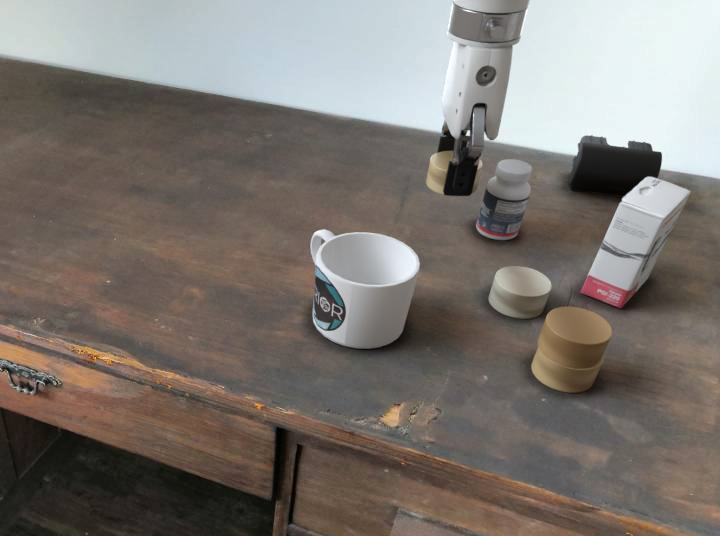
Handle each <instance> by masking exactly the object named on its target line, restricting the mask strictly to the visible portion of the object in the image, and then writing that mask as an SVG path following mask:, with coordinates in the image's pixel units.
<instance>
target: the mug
mask: <svg viewBox="0 0 720 536" xmlns="http://www.w3.org/2000/svg"><path fill="white" fill-rule="evenodd" d="M322 240H323V241H324V242H323V243H322ZM309 245H310V246H309V247H310V254H311V258H312V261H313V263H314V265H315V266H314V267H315V270H314V271H315V273H314V287H313V303H312V323H313V324H314V326H315V328H316V329H317V331H318V332H319V333H320V334H321V335H322V336H323V337H324V338H326V339H328V340H329V341H331V342H333V343H334V344H337V345H340V346H342V347H346V348H352V349H360V350H362V349H364V350H370V349H377V348H382V347H383V346H387V345H390V344H392V343H393V342H394V341H396V340H397V339H399V338H400V336H401V335H402V333H403V332H404V328H405V324H406V320H407V317H408V314H409V310H410V306H411V303H412V299H413V296H414V292H415V288H416V285H417V281H418V277H419V275H420V270H421V263H420V258H419V256H418V254H417V253H416V252H415V250H413V248H412V247H410V246H409V245H407V244H406V243H405V242H403V241H401V240H399V239H397V238H395V237H391V236H389V235H385V234H381V233H375V232H365V231H363V232H362V231H361V232H360V231H355V232H346V233H341V234H338V235H335V234H334V233H333V232H332V231H331V230H327V229H325V228H323V229H319V230H316V231H315V232H314V233H313V235H312V237H311V239H310V244H309Z"/></svg>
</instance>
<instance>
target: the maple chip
mask: <svg viewBox="0 0 720 536" xmlns="http://www.w3.org/2000/svg"><path fill="white" fill-rule="evenodd" d="M453 152H454V151H442V152H438V153H437V152H435V153H434V154H432V155H431V157H430V159H429V163H428V168H427V175H426V179H425V184H426V186H427V188H428V189H430V190H431V191H432V192H435V193H437V194H440V195H443V196H445V195H444V192H443V189H444V184H445V179H446V174H447V169H448V165H449V161H452V160H453ZM482 170H483V162H482V160H481V159H480V161H479V165H478V169H477V173H476V177H475V182H474V186H473V190H472V194H474V193H475V192H476V191H477V190H478V186H479V183H480V178H481V174H482Z"/></svg>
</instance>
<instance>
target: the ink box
mask: <svg viewBox="0 0 720 536" xmlns="http://www.w3.org/2000/svg"><path fill="white" fill-rule="evenodd" d="M691 192H692V190H691V189H687V188H685V187H682V186H680V185H678V184H675V183H673V182H670V181H667V180H665V179H661V178H659V177H658V178H655V177H646V178H644V180H642V181H641V182H640V183H639V184H638V185H637V186H635V187H634V188H633V189H632V190H631V191H630V192H629V193H627V194H626V195H625V196H624V197H621V201H620V202H619V203H618V206H617V208H616V210H615V213H614V216H613V217H612V219H611V221H610V224H609V226H608V229H607V231H606V233H605V236H604V237H603V240H602V241H601V245H600V247H599V249H598V251H597V254H596V256H595V258H594V260H593V263H592V265H591V267H590V269H589V271H588V274H587V276H586V278H585V281H584V283H583V285H582V287H581V290H580V294H582V295H585V296H588V297H591V298H593V299H596V300H598V301H601V302H603V303H606V304H608V305H610V306H614V307H616V308H618V309H622V308H623V307H625V305H626V304H627V302H629V300H630V299H631V298H632V297H633V296H634V295H635V294H636V293H637V292H638V290H639V289H641V287H642V285H644V284H645V283H646V281H647V280H648V279H649V277H650V276H651V273H652V271H653V269H654V267H655V265H656V263H657V261H658V259H659V257H660V255H661V252H662V251H663V248H664V247H665V244H666V243H667V241H668V238H669V236H670V235H671V233H672V230H673V228H674V227H675V224H676V222H677V220H678V218H679V217H680V215H681V213H682V210H683V208H684V206H685V204H686V203H687V200H688V199H689V196H690V194H691Z"/></svg>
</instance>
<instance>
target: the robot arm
mask: <svg viewBox="0 0 720 536" xmlns="http://www.w3.org/2000/svg"><path fill="white" fill-rule="evenodd" d="M529 5H530V0H452V4H451V8H450V9H451V10H450V14H449V20H448V25H447V30H446V37H447V38H448V39H449V40H451V41H453V43H452V47H451V53H450V57H449V60H448V61H449V62H448V65H447V71H446V75H445V81H444V86H443V93H442V99H441V100H442V101H441V111H442V114H443V118H444V120H443V123H442V128H441V136H440V137H439V140H438V141H439V142H438V146H437V152H436V153H438V152H442V151H454V152H453V160H452V161H449V165H448V169H447V174H446V179H445V184H444V189H443V192H444V195H443V196H448V197H470V196H471V195H472V194H473V193H472V190H473V186H474V182H475V177H476V173H477V169H478V165H479V161H480V160H481V156H482V153H483V151H484V147H485V136H486V138H487V139H489V141H495V140H496V139H497V137H498V136H499V132H500V127H501V122H502V117H503V112H504V108H505V102H506V97H507V93H508V88H509V87H508V86H509V82H510V81H509V80H510V74H511V69H512V60H513V52H514V51H513V49H514V48H513V46H515V45H517V44H519V43H520V41H521V39H522V38H521V37H522V34H523V30H524V25H525V22H526V19H527V18H526V17H527V14H528V9H529ZM468 131H469V135H467V133H468Z"/></svg>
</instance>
